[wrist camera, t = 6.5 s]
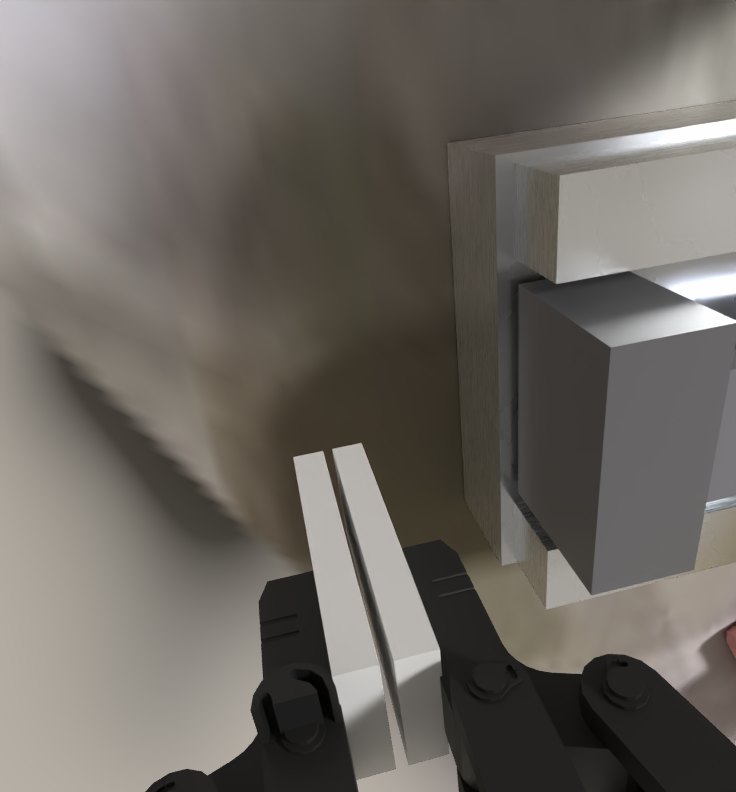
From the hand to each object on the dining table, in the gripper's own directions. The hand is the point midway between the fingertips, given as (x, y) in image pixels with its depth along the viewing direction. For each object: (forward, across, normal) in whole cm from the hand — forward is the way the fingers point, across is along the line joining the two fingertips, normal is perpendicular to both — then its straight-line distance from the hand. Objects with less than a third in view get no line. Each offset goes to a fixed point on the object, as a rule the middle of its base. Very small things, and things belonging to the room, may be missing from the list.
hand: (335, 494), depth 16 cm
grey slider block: (+2, +9, 0) cm, 9 cm away
